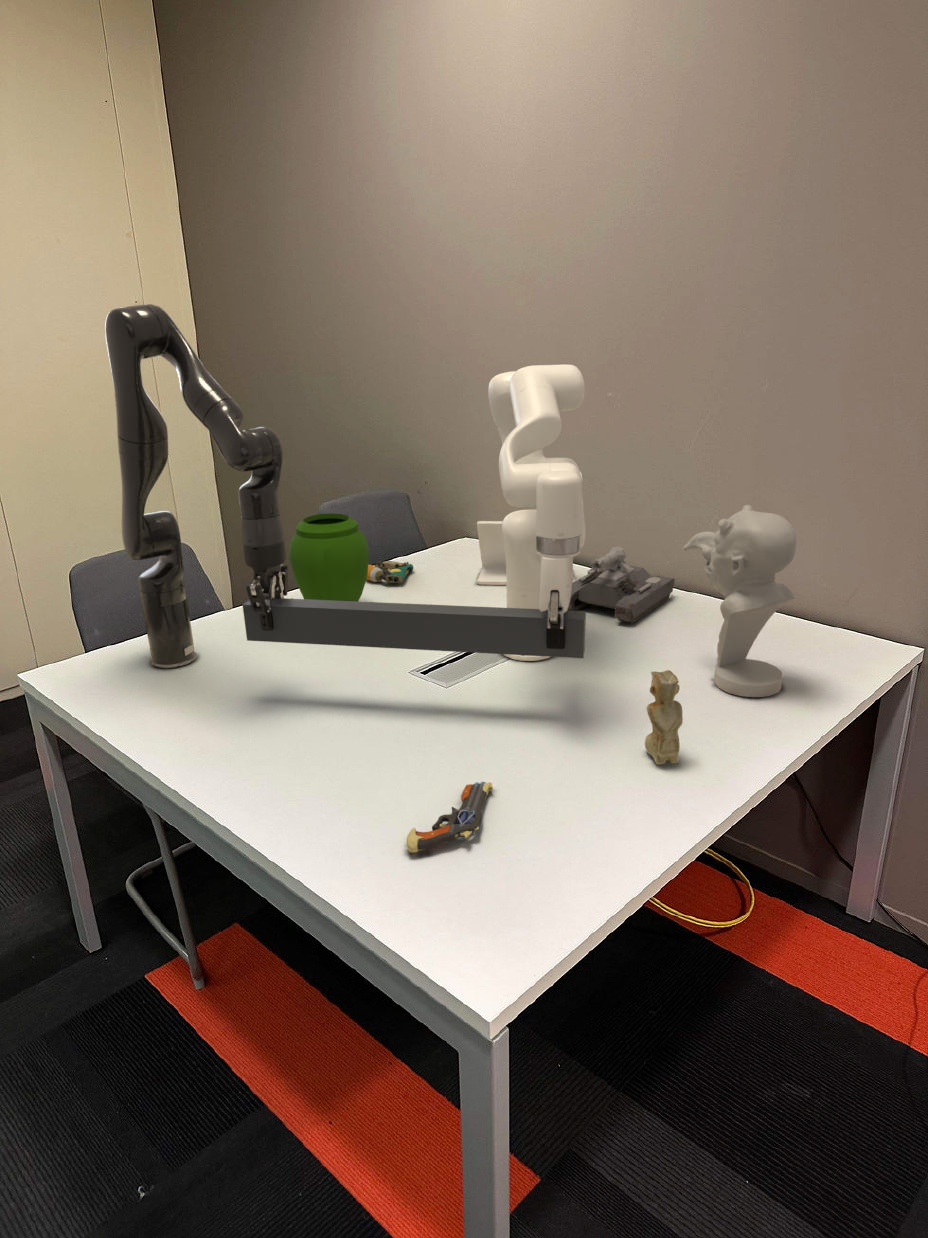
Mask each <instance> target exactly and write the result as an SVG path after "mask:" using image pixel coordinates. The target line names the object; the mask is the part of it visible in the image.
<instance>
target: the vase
mask: <svg viewBox="0 0 928 1238" xmlns="http://www.w3.org/2000/svg"><path fill="white" fill-rule="evenodd" d="M358 524H359V523H358V521H356V520H355V519H353V518H352V517H350V516H349V515H347V514H344V513H335V512H334V513H333V512H331V513H320V514H313V515H310V516H307V517H305V518H303V519H302V520H301V521H300V522H299V523H298V524H297V525H296V526H295V532H296V533H295V534H294V536H293V537H292V538H291V540H290V542H289V551H288V559H289V564H290V566H291V567H290V568H291V570H292V575H293V578H294V581H295V584H296V586H297V587H298V589H299V591H300V593H301V596H302V597H303V598H302V599H309V600H333V601H357V602H360V599H361V597H362V595H363V592H364V588H365V586H366V581H367V579H366V578H367V573H368V565H369V561H370V560H369V559H370V548H369V545H368V541H367V537H366V535H365V534H364V533H363V532H362V531H361V530H360V529H359V527H358Z"/></svg>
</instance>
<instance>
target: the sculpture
mask: <svg viewBox="0 0 928 1238" xmlns="http://www.w3.org/2000/svg"><path fill="white" fill-rule="evenodd" d="M650 673H651V684H650V687H649V693H650V694H651V695H652V696H653V697H654V701H653V702H650V703H648V704H647V706H646V713H647V715H648V718H649V721H650V724H651V727H652V730H651V731H652V732H650V733H649V734H647V735H646V736H645V739H644V748H645V751H646V752H647V753H648V754H649V755H651V756H652V757H653V758H654V762H655V764H657V765H664V764H666V762H668V763H669V764H676V763H678V759H679V755H678V754H679V752H680V748H681V745H680V737H679V729H680V728H681V727H682V725H683V723H684V722H683V720H684V719H683V717H684V716H683V706H682V703H680V702H679V701H678V700H675V697H676V695H678V693H679V692H680V684H679V682H680V680H679V678H678V677H677V675H675V673H674V672H672V671H671V670H670V669H669V670H664V671H651V672H650Z"/></svg>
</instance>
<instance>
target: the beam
mask: <svg viewBox="0 0 928 1238" xmlns="http://www.w3.org/2000/svg"><path fill="white" fill-rule="evenodd" d="M265 601H266V605H267V600H265ZM256 604H257V603H256ZM242 612H243V619H244V627H245V628H244V629H245V635H246V641H249V642H264V643H265V642H266V643H285V644H286V643H287V644H304V645H305V644H306V645H323V646H327V645H328V646H340V647H341V646H344V647H360V648H379V649H380V648H381V649H397V650H399V649H401V650H418V651H434V652H436V651H437V652H453V653H454V652H456V653H474V654H492V655H503V654H510V655H529V656H547V657H550V658H569V659H584V657H585V650H586V624H587V623H586V621H587V620H586V619H587V611H586V610H577V611H570V610H567V611H566V612H565V613H564V627H565V648H564V649H549V648H547V646H546V645H547V624H548V610H546V611H543V612H541V611H540V610H539V609H522V608H507V607H495V606H473V605H471V606H470V605H451V604H447V605H446V604H427V603H425V604H424V603H402V602H401V603H400V602H380V601H379V602H376V601H358V602H357V601H333V600H309V599H304V598H285V597H284V598H274V599H273V600H272V616H273V625H274V629H273V630H272V631H263V630H262V628H261V620H260V613H259V612H253V610H252V607H251V603H250V600H249V599H247V600H246V601H245V602H244V603H243V604H242ZM560 615H561V614H558V617H560Z"/></svg>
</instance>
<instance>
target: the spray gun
mask: <svg viewBox="0 0 928 1238" xmlns="http://www.w3.org/2000/svg"><path fill="white" fill-rule="evenodd" d="M413 570H414V565H413V564H412V563H409V561H406V562H398V561H393V560H386V561H385V560H384V561H383V560H382V561H381V560H379V561H375V562H374V564H373V565H372V564H368V573H367V578H366V581H370V582H373V583H379V582H381V581H382V580H383V581H385V582H387V583H391V584H393V583H394V584H402V583H403V582H404V581H405V579H406V578H407V575H408V574H409V573H412V572H413Z"/></svg>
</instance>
